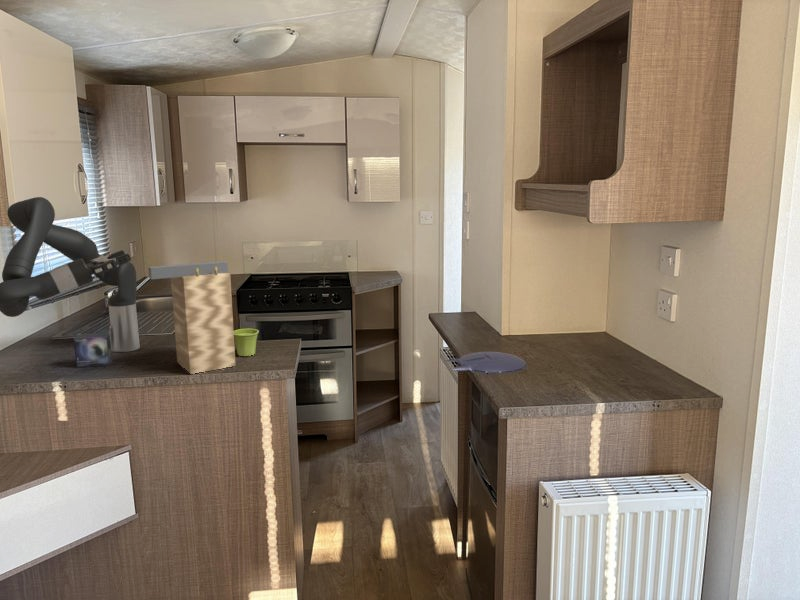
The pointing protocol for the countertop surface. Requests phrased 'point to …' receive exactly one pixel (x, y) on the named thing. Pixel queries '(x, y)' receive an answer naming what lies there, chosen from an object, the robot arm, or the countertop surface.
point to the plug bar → (186, 270)
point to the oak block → (203, 321)
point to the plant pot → (245, 341)
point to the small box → (92, 349)
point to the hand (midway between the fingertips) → (127, 254)
